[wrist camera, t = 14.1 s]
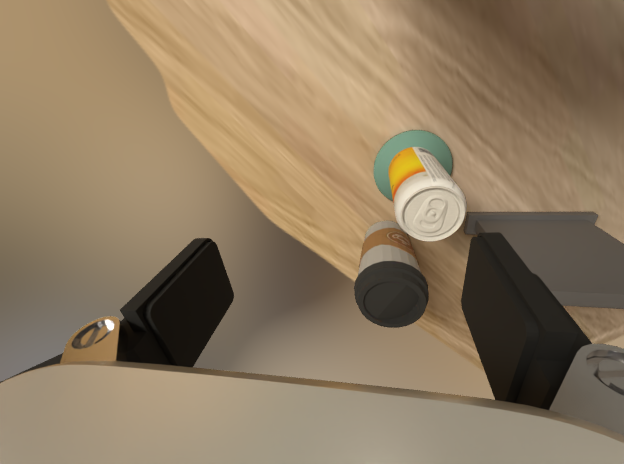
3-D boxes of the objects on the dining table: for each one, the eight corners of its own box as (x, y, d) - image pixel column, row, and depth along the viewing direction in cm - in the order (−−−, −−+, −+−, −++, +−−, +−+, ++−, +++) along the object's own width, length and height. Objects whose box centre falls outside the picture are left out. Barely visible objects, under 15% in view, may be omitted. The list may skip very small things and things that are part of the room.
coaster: (374, 132, 37) (374, 133, 36) (456, 127, 35) (457, 128, 34) (373, 203, 41) (373, 204, 41) (445, 202, 39) (446, 204, 39)
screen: (467, 212, 39) (518, 283, 26) (592, 211, 36) (727, 292, 23) (463, 230, 41) (510, 308, 27) (584, 232, 38) (706, 320, 24)
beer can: (382, 184, 39) (387, 236, 26) (396, 140, 36) (409, 175, 23) (425, 194, 39) (452, 252, 26) (443, 151, 36) (483, 191, 23)
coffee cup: (425, 229, 42) (449, 296, 29) (393, 267, 46) (401, 341, 33) (377, 203, 41) (379, 259, 28) (349, 244, 46) (339, 309, 33)
